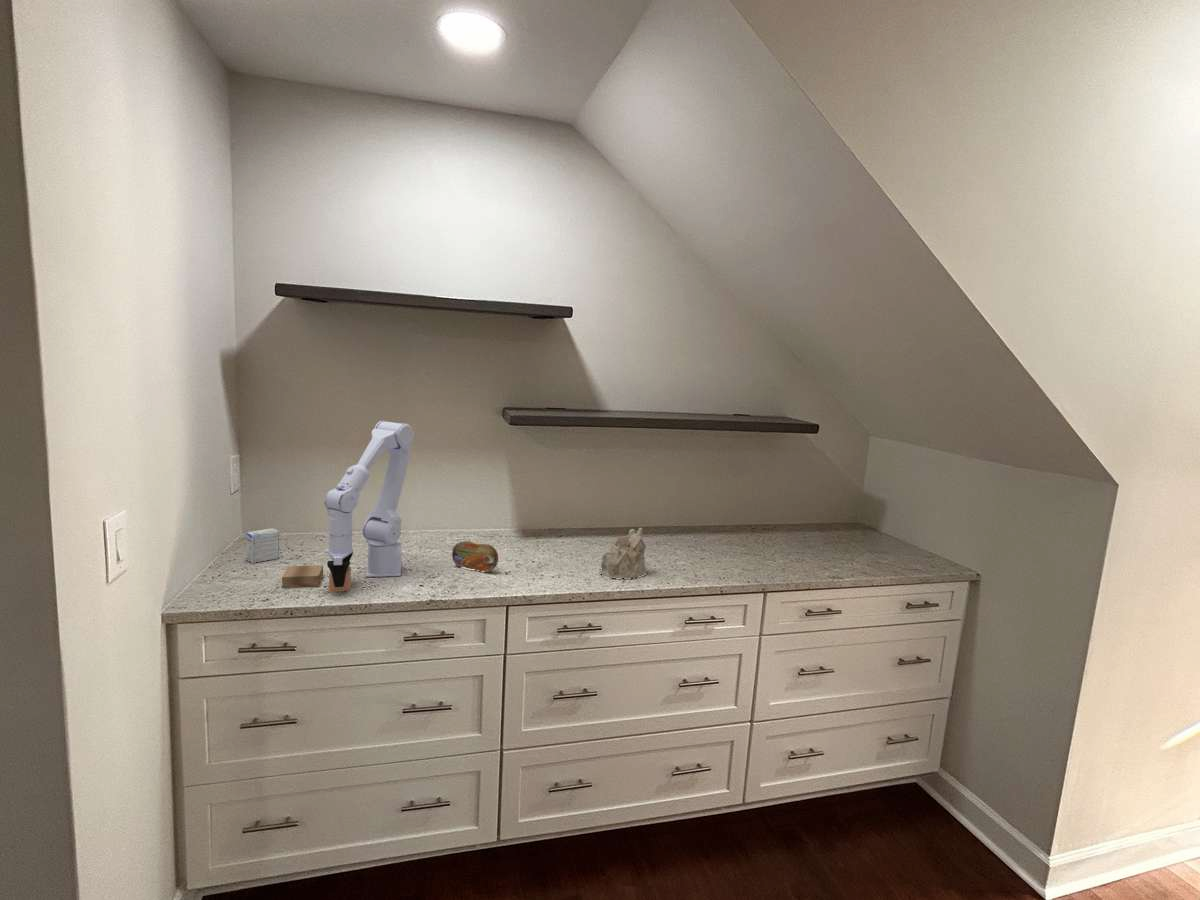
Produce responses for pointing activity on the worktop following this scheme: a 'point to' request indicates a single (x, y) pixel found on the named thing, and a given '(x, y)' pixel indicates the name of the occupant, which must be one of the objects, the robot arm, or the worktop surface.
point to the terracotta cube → (346, 583)
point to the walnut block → (302, 576)
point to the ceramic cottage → (625, 557)
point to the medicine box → (262, 545)
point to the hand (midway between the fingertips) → (340, 582)
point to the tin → (475, 556)
